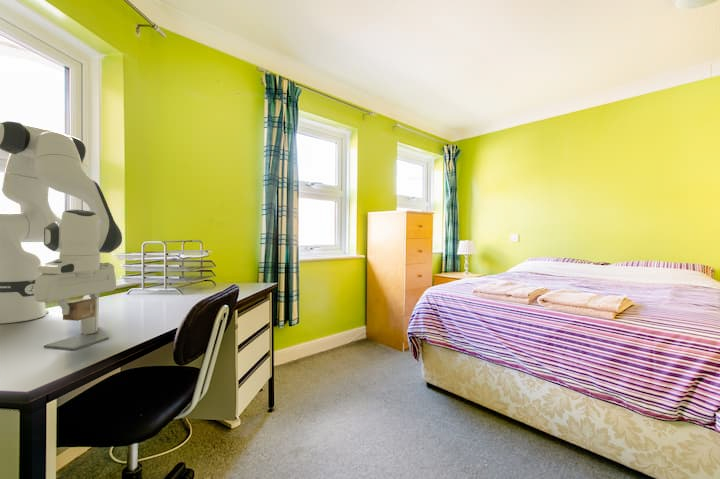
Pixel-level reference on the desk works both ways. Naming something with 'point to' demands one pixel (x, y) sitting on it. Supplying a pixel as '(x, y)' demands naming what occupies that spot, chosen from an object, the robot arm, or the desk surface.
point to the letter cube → (81, 309)
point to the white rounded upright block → (90, 320)
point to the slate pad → (76, 342)
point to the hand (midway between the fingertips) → (79, 311)
